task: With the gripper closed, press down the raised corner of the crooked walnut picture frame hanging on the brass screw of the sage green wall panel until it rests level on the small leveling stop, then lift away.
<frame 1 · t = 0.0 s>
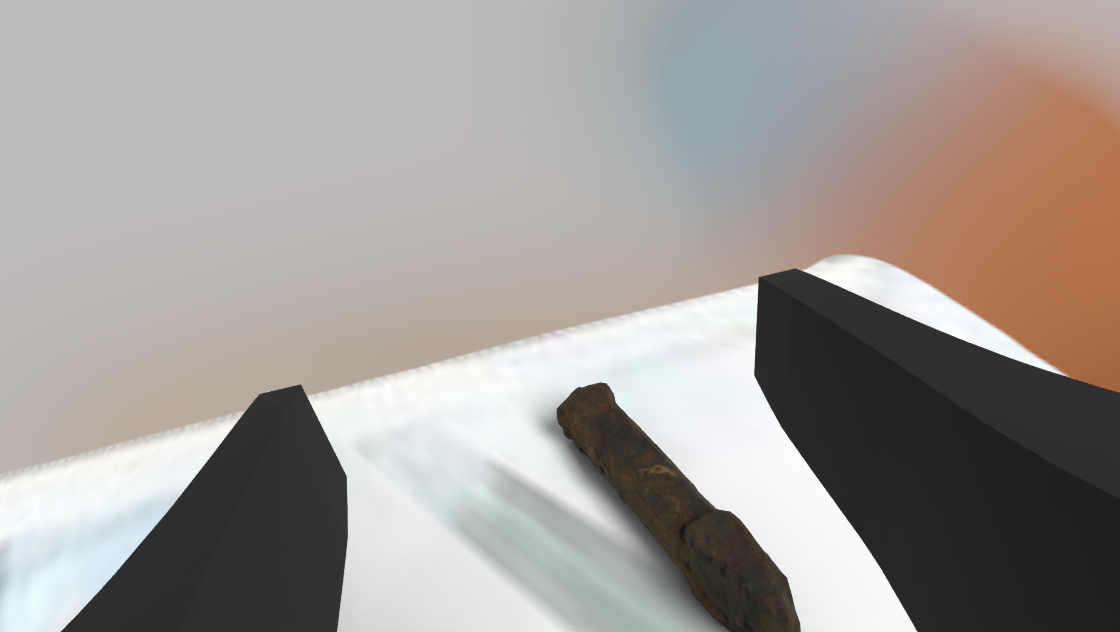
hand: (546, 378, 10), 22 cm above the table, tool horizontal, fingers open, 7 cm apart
hand tool: (676, 526, 35), on the table
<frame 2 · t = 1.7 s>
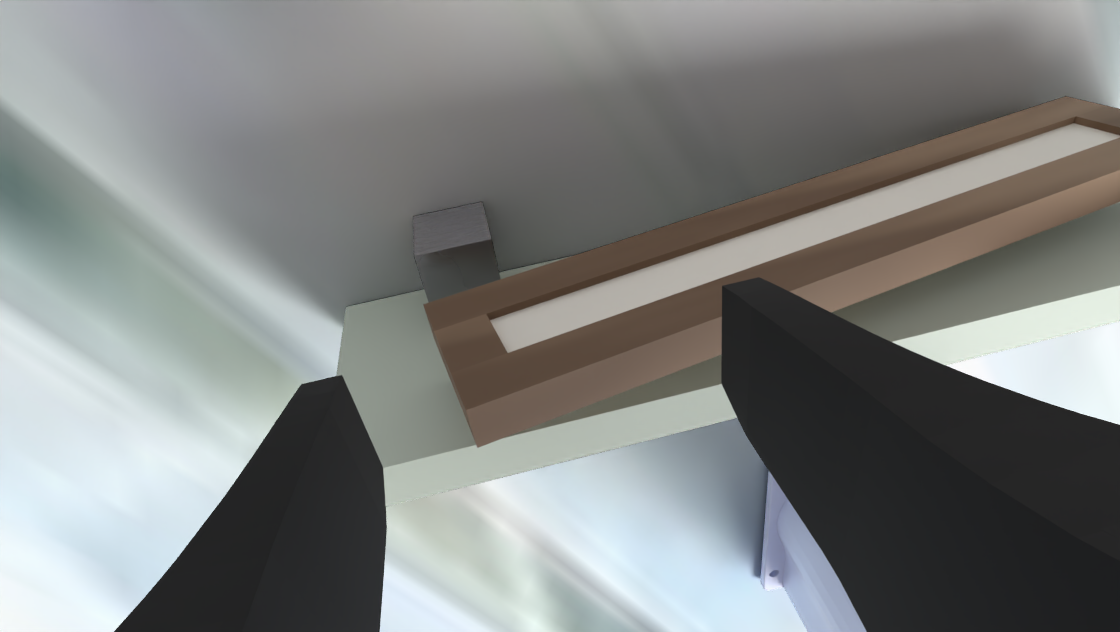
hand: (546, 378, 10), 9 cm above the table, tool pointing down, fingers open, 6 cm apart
picture frame: (836, 233, 16), point 5 cm above the table, hinge at 10.0°
wall panel: (753, 231, 21), on the table
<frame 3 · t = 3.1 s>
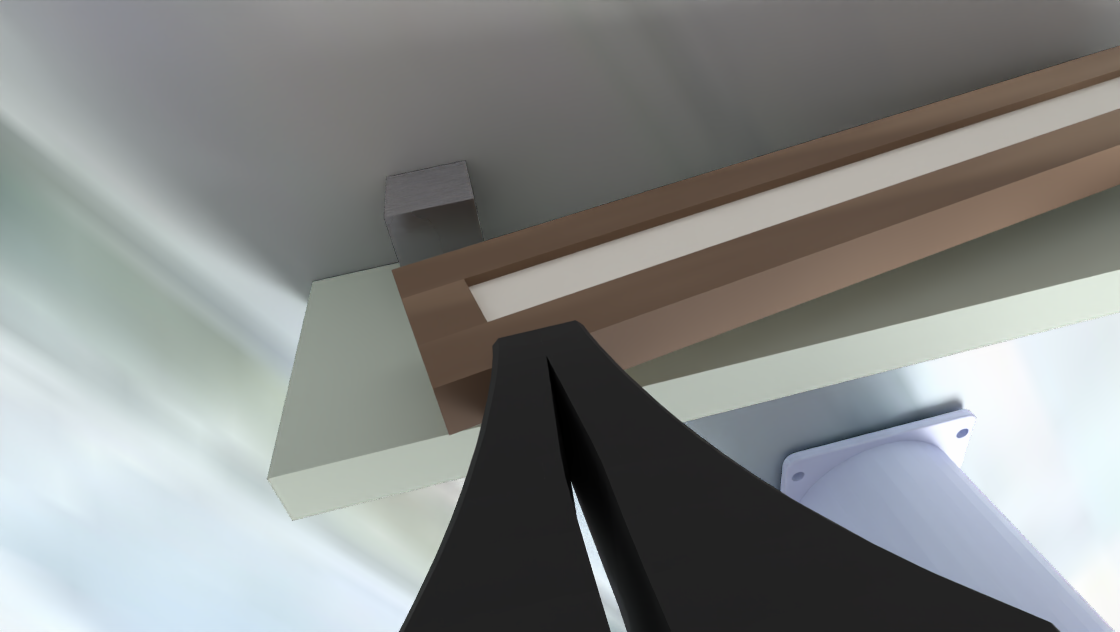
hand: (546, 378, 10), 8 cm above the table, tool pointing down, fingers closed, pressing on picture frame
picture frame: (873, 189, 14), point 4 cm above the table, hinge at 10.0°, touching gripper
wall panel: (770, 199, 19), on the table
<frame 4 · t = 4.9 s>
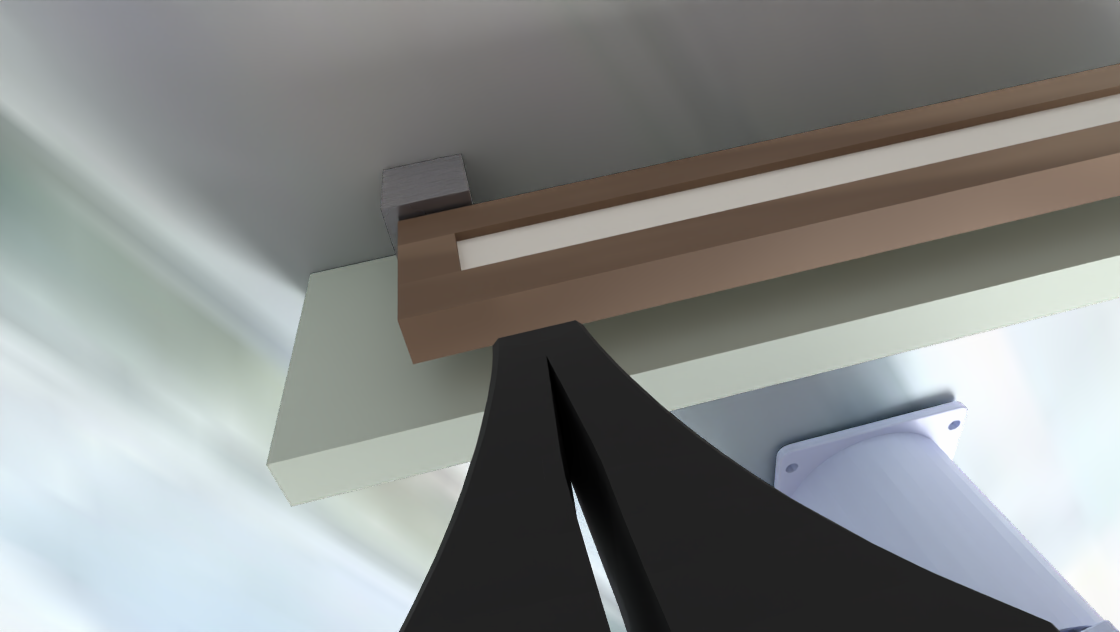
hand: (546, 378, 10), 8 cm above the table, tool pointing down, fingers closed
picture frame: (862, 181, 14), point 4 cm above the table, hinge at 0.2°
wall panel: (762, 192, 19), on the table
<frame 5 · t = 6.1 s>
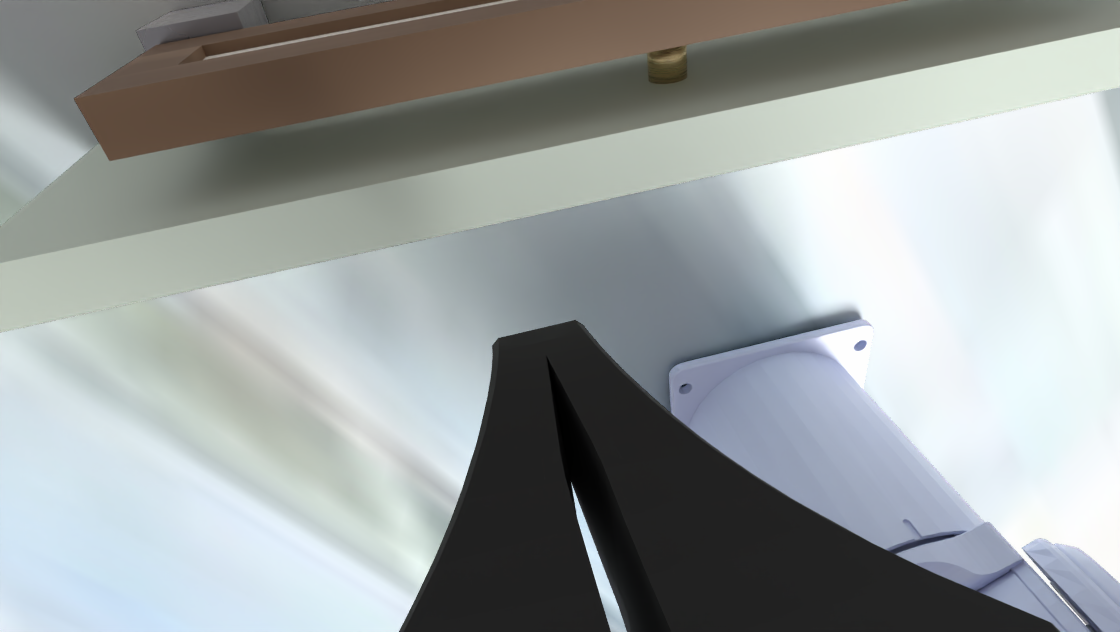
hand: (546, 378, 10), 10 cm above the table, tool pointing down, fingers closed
wall panel: (613, 59, 17), on the table
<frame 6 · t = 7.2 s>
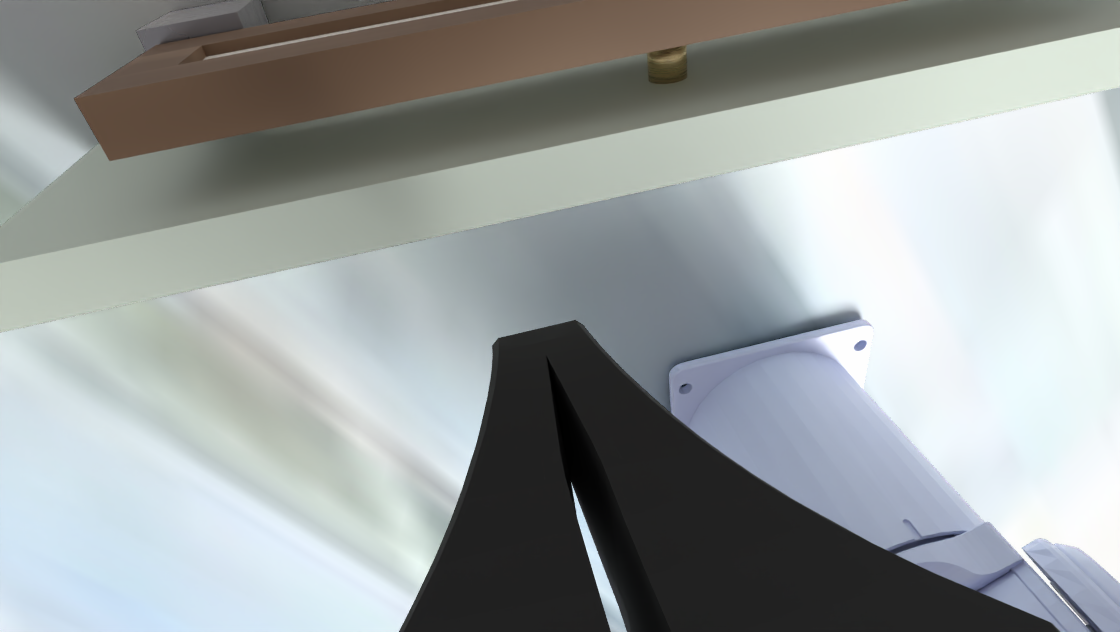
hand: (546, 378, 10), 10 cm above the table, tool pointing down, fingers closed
wall panel: (613, 59, 17), on the table
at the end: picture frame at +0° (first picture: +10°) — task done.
